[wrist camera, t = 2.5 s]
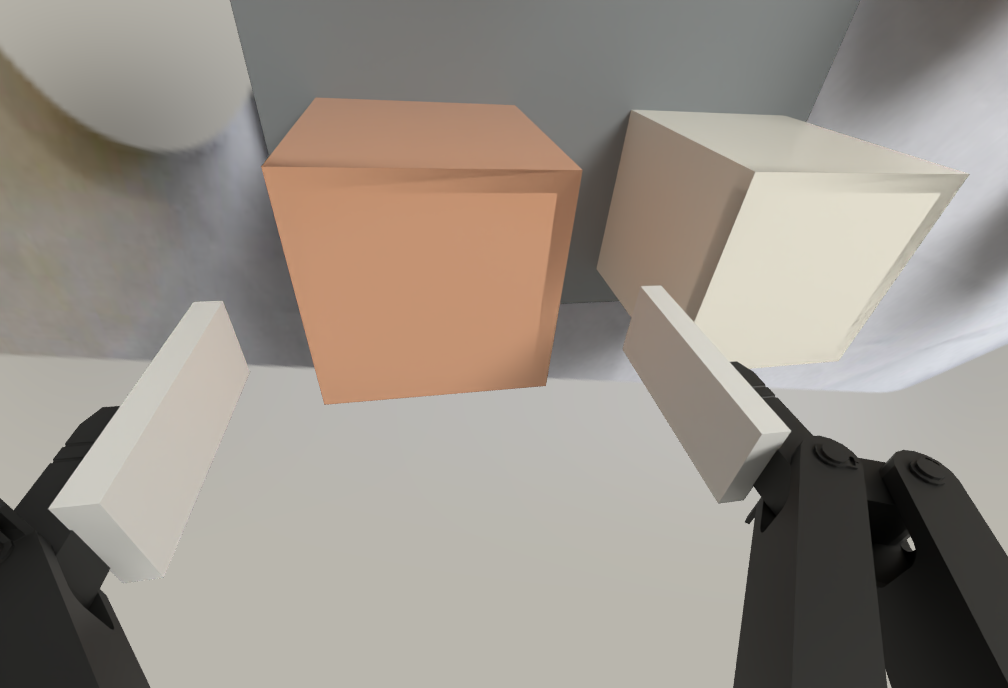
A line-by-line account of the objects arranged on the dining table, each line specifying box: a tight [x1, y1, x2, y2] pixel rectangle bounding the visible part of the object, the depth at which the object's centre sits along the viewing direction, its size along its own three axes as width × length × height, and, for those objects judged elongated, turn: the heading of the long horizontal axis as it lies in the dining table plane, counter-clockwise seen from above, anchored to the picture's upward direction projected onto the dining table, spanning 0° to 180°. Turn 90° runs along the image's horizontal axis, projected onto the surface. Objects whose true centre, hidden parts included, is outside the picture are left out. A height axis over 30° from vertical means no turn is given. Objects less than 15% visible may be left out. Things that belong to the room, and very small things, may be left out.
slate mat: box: [230, 0, 860, 304], centre depth 22 cm, size 28×22×1 cm
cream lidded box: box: [597, 110, 969, 369], centre depth 22 cm, size 9×9×10 cm
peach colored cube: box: [261, 98, 583, 405], centre depth 19 cm, size 9×9×10 cm
